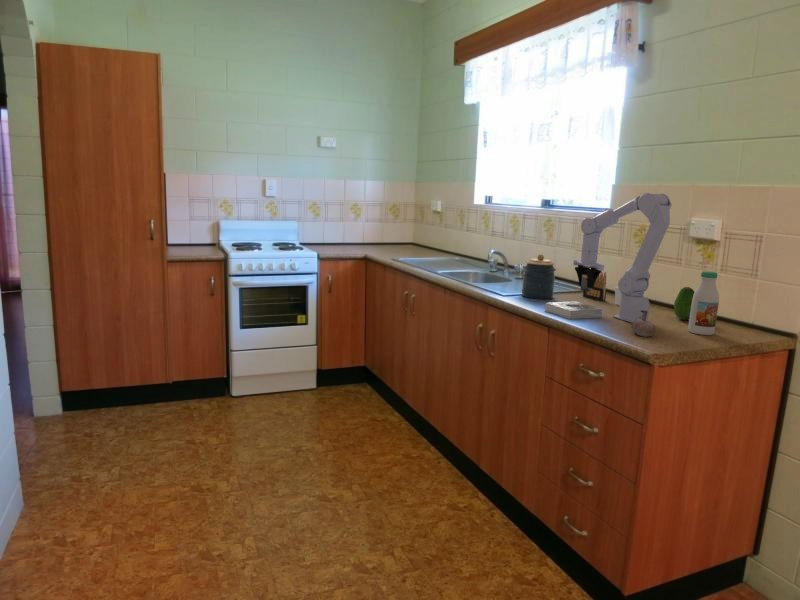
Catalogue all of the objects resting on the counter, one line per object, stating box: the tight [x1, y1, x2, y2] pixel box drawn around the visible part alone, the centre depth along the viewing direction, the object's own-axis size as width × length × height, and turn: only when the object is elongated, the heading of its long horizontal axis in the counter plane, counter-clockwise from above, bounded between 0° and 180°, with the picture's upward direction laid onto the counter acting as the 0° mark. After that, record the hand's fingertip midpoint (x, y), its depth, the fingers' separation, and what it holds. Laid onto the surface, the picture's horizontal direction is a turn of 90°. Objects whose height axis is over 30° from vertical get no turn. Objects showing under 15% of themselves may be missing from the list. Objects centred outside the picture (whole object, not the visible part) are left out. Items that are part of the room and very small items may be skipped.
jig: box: [544, 300, 603, 320], centre depth 212 cm, size 14×14×3 cm
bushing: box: [579, 274, 592, 292], centre depth 221 cm, size 4×4×6 cm
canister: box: [521, 253, 557, 300], centre depth 243 cm, size 13×13×18 cm
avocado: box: [673, 286, 695, 321], centre depth 209 cm, size 8×8×12 cm
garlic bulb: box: [631, 310, 656, 338], centre depth 185 cm, size 8×7×8 cm
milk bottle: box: [687, 270, 720, 336], centre depth 189 cm, size 8×8×20 cm
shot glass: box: [614, 285, 621, 306], centre depth 234 cm, size 7×7×7 cm
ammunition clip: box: [582, 270, 607, 302], centre depth 244 cm, size 11×2×12 cm, turn 29°
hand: (586, 286), depth 221 cm, fingers closed on bushing, 4 cm apart
